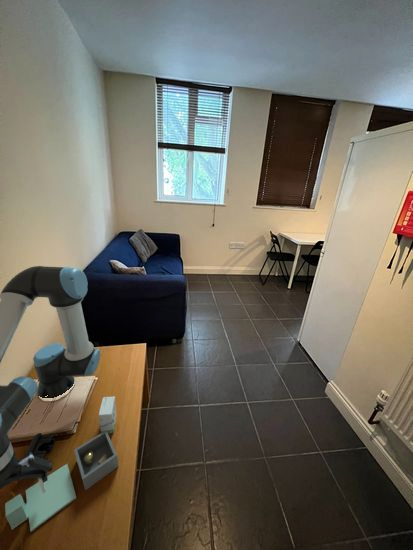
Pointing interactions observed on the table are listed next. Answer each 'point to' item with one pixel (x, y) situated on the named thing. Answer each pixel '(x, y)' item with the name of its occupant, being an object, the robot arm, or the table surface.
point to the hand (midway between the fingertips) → (15, 506)
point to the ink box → (107, 414)
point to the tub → (96, 459)
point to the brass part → (89, 458)
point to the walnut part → (103, 459)
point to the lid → (42, 500)
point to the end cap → (40, 445)
